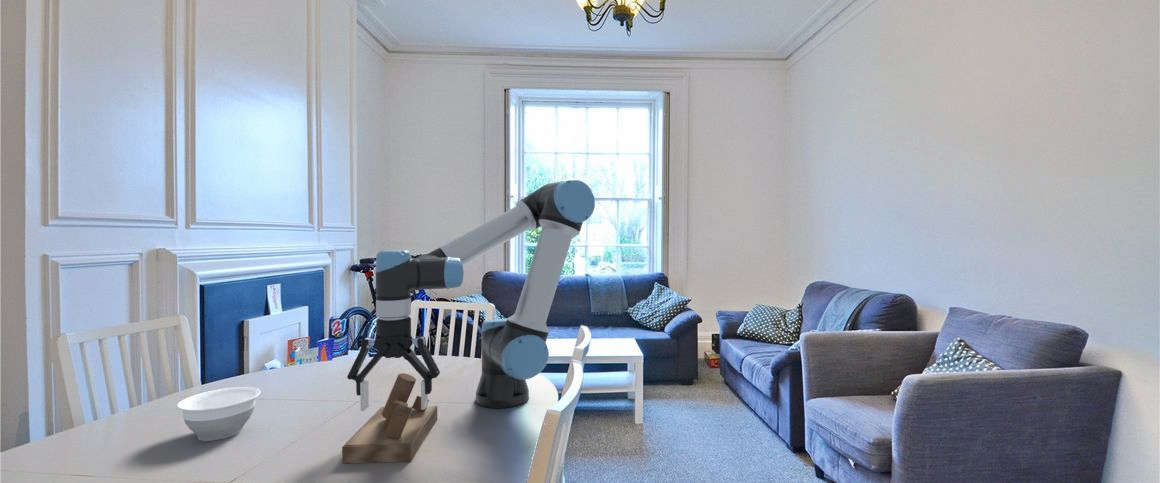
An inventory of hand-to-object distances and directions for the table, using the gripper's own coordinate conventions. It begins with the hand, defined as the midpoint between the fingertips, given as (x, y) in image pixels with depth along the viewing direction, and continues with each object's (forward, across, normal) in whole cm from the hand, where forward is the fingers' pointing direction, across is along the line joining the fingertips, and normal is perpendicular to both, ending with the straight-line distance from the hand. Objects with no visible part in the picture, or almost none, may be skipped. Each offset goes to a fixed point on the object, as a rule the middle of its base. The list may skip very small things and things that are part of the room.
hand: (394, 408), depth 108 cm
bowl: (+8, +43, -6) cm, 44 cm away
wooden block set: (+4, -1, 0) cm, 4 cm away
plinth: (+7, 0, 0) cm, 7 cm away
